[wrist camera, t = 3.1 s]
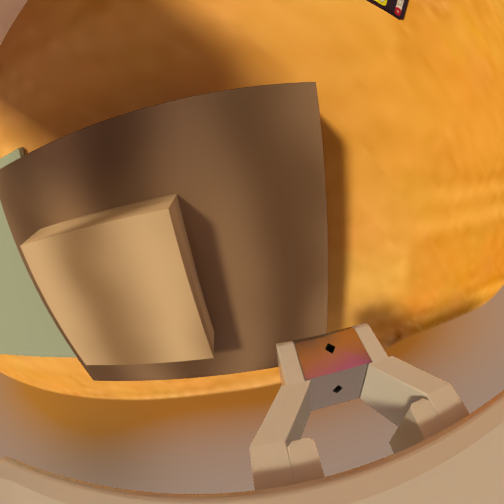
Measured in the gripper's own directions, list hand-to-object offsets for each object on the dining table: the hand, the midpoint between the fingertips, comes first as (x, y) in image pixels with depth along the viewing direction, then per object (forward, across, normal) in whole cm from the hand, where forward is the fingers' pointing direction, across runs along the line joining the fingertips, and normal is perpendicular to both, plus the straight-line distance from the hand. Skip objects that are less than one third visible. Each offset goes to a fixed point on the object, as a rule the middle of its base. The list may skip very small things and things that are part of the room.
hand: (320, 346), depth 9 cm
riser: (+10, +6, 0) cm, 12 cm away
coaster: (+6, +8, 0) cm, 10 cm away
